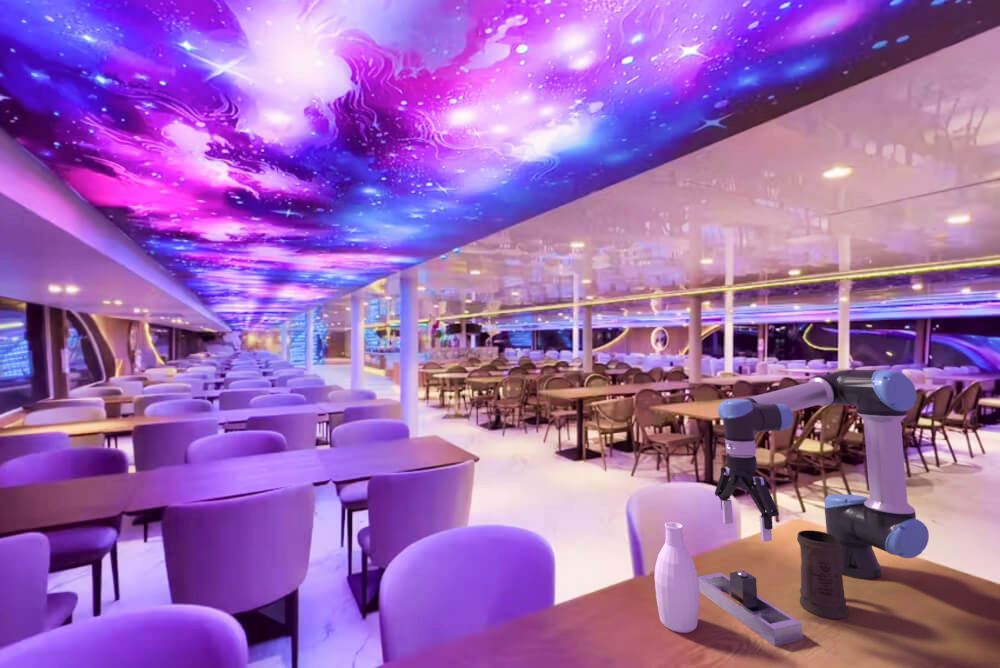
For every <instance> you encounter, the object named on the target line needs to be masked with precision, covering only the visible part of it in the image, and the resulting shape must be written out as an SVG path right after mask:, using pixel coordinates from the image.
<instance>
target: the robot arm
mask: <svg viewBox="0 0 1000 668" xmlns="http://www.w3.org/2000/svg"><path fill="white" fill-rule="evenodd" d="M917 398H918V397H917V390H916V387H915V384H914V383H913V381H912V379H910V377H908V376H907V375H906V374H904V373H902V372H900V371H897V370H888V369H844V370H840V371H839V370H837V371H835V372H831V373H827V374H823V375H820V376H816V377H812V378H809V380H808V381H807V382H804V383H801V384H797V385H793V386H790V387H789V386H788V387H786V388H785V387H784V388H781V389H779V390H773V391H769V392H765V393H762V394H758V395H754V396H750V397H745V398H733V399H732V398H730V399H729V398H728V399H726V400H723V401H721V402H720V404H719V405H718V407H717V413H718V417H719V419H720V420H721V421H722V422H723V428H724V429H723V431H724V441H725V443H724V444H725V452H726V453H727V454H726V455H725V457H726V460H725V461H726V466H721V468H720V476H719V478H718V482H717V484H716V488H715V491H714V495H715V496H716V497H718V498H719V500H720V504H721V505H720V506H721V511H722V519H723V520H722V522H723V524H724V525H728V524H733V523H734V519H733V505H732V500H731V496H732V495H733V494H734V492H735V491H736V489H737V488H739V489H741V490H744V491H745V492H746V493H747V494H749V495H750V497H751V499H752V501H753V502H754V504H755V505H756V507H757V508H758V510H759V512H760V513H761V514H760V515H759V527H760V539H761V541H760V542H763V543H766V542H770V541H773V538H772V536H773V535H772V529H773V517H777V516H779V515H780V513H779V510H778V508H777V506H776V504H775V501H774V498H773V497H772V494H771V492H770V490H769V487H768V484H767V480H766V476H760V477H759V476H756V473H755V472H756V470H757V469H758V465H757V463H758V462H757V456H756V454H757V450H756V438H755V437H756V434H755V433H760V432H761V433H762V432H780V431H785V430H788V429H790V428H791V427H792V426H793V423H794V414H793V412H796V411H799V410H803V409H806V408H810V407H815V406H821V407H828V406H832V405H833V406H834V405H835V406H836V405H839V406H840V405H841V406H842V405H843V406H851V407H855V408H856V414H857V415H858V416H859V417H861V419H862V420H863V429H864V441H865V454H866V464H867V465H866V466H867V477H868V490H869V491H868V492H869V498H867V497H866V496H862V495H859V494H858V495H857V494H848V493H847V494H845V493H843V494H842V493H841V494H840V493H835V494H830V495H827V496H826V497H825V499H824V515H825V518H824V519H825V528H826V533H829V534H831V535H834V536H836V537H837V538H839V540H840V544H841V552H840V559H841V566H842V576H843V575H844V576H848V577H851V578H855V579H856V578H857V579H870V580H871V579H877V578H879V577H881V576H882V567H881V564H880V563H879V561H878V559H877V556H876V554H875V551H874V549H873V547H874V548H876V549H879V550H881V551H882V552H883V551H884V552H886V553H888V554H890V555H892V556H897V557H900V558H904V559H913V558H916V557H918V556H920V555H921V554H922V553H923V551H924V550H925V549H926V548H927V546H928V543H929V539H930V537H929V536H930V533H929V530H928V527H927V525H925V523H924V522H922V521H921V520H920V519H917V517H916V510H915V508H914V507H913V506H912V505H910V504H909V502H908V493H907V492H908V491H907V481H906V480H907V479H906V469H905V455H904V445H903V443H904V442H903V433H902V432H903V431H902V421H903V420H904V419H906V418H907V416H908V411H909V410H911V409H913V408H914V407H915V403H916V402H917Z"/></svg>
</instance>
